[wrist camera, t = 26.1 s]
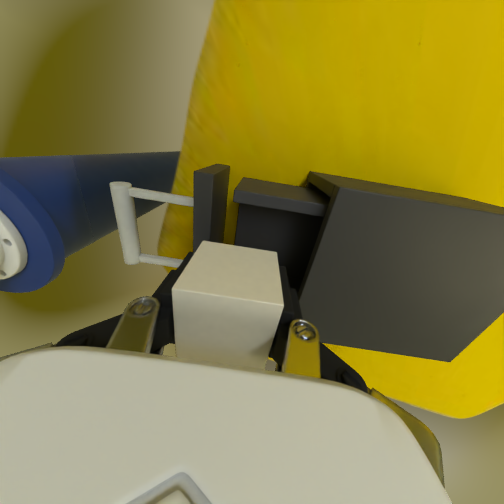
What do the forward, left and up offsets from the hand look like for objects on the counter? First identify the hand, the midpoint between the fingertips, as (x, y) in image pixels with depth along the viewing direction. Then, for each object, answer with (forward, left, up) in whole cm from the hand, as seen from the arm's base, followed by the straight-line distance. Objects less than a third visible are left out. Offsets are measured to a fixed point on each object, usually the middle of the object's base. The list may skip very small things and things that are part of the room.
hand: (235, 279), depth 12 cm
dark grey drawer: (0, 0, -9) cm, 9 cm away
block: (0, 0, 0) cm, 0 cm away
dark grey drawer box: (+12, 0, -9) cm, 15 cm away
